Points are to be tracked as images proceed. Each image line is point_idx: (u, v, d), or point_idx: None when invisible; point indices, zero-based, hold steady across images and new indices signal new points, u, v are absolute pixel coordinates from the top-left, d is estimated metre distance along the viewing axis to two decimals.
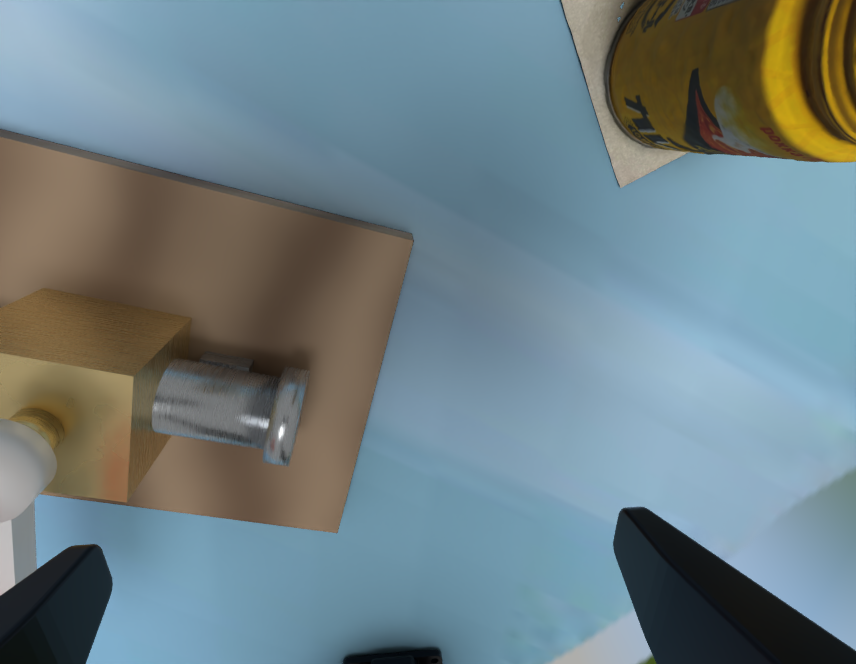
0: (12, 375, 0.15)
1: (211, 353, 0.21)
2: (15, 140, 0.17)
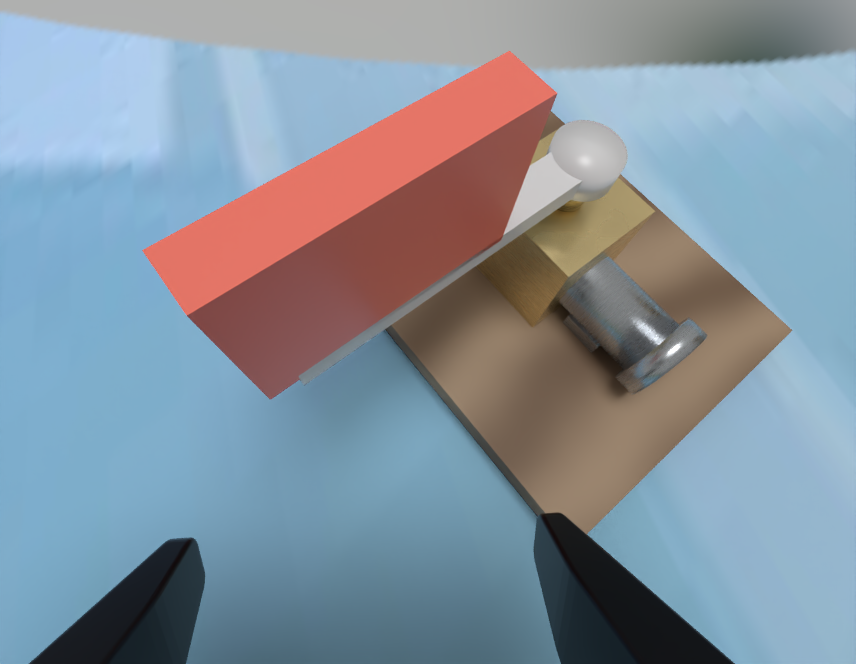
0: None
1: None
2: None
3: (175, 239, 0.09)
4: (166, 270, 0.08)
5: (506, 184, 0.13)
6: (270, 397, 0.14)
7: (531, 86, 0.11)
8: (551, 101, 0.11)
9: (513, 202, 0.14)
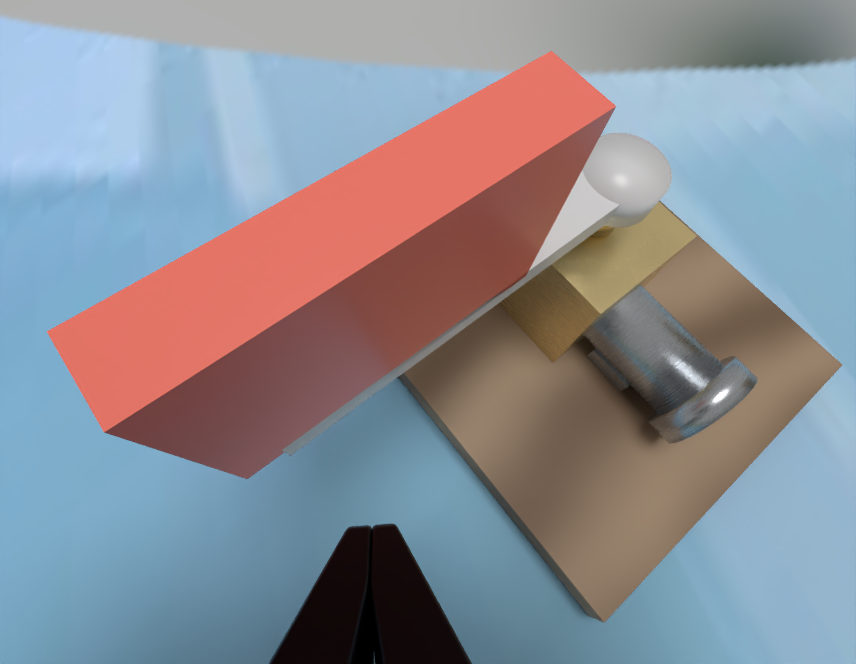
0: None
1: None
2: None
3: (95, 315, 0.06)
4: (79, 362, 0.06)
5: (540, 217, 0.10)
6: (247, 477, 0.11)
7: (582, 96, 0.08)
8: (607, 116, 0.08)
9: (545, 235, 0.12)
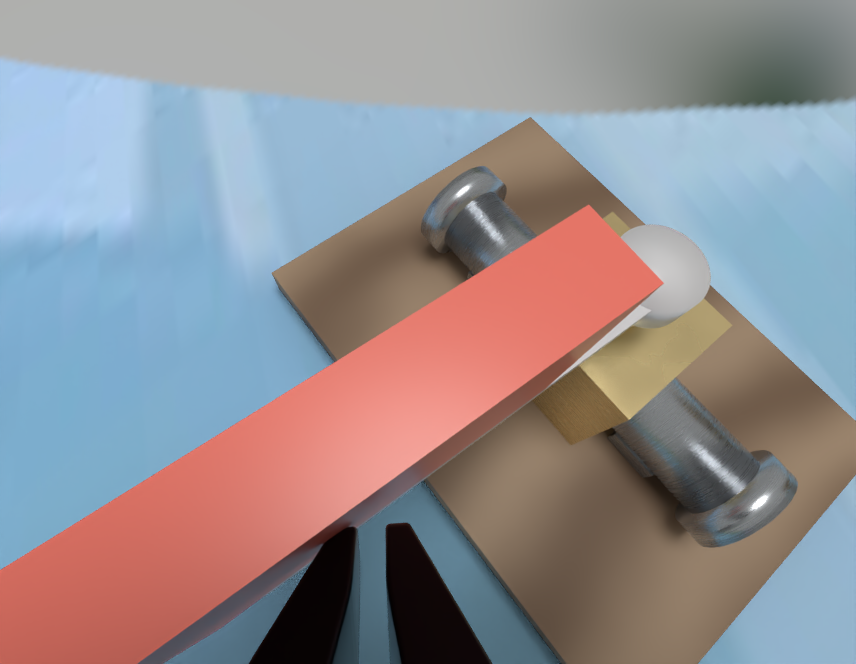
0: None
1: None
2: (628, 210, 0.24)
3: (9, 579, 0.05)
4: None
5: (564, 367, 0.09)
6: None
7: (624, 269, 0.07)
8: (653, 291, 0.07)
9: (567, 368, 0.10)
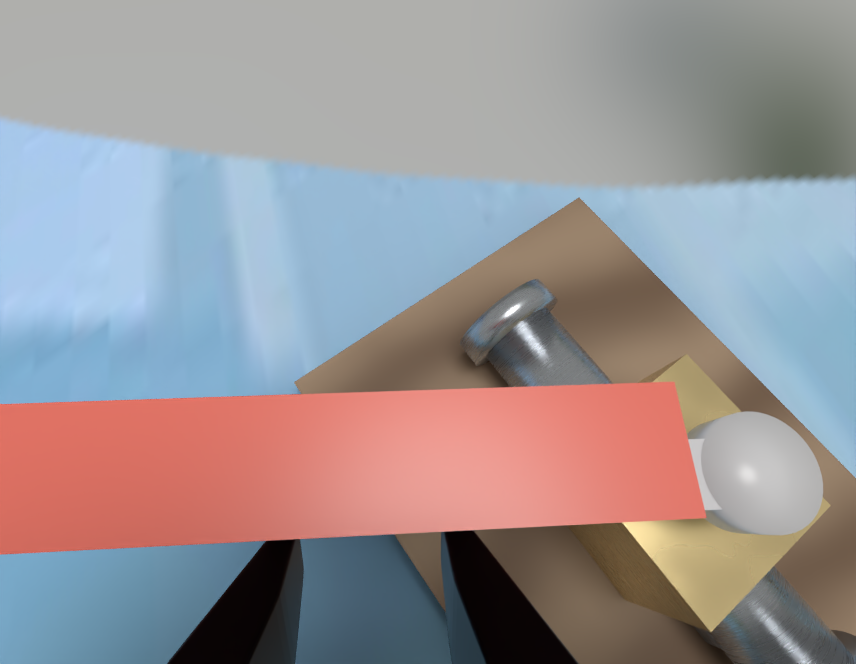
0: None
1: None
2: (688, 310, 0.22)
3: None
4: None
5: None
6: None
7: (670, 473, 0.06)
8: (689, 517, 0.06)
9: None
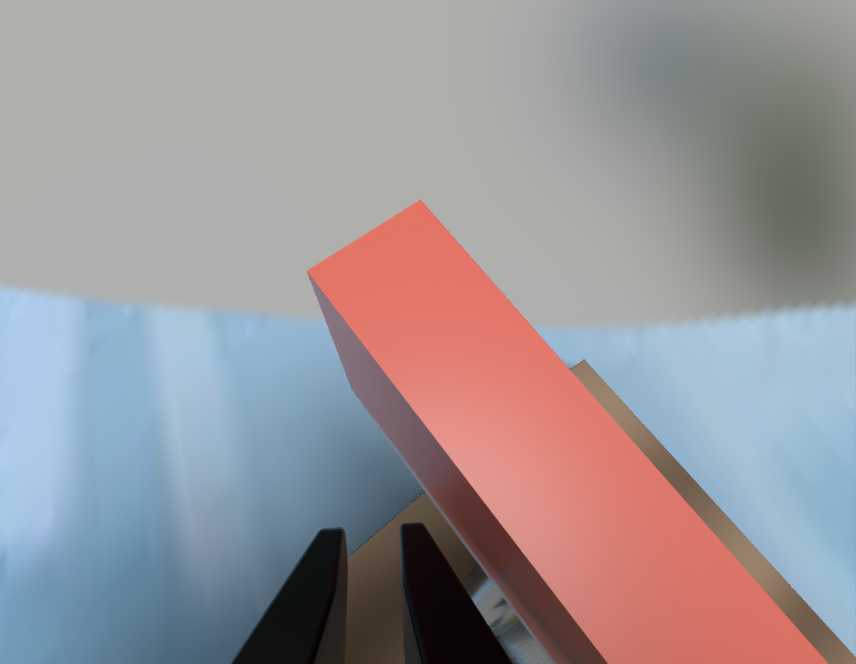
0: None
1: None
2: (718, 509, 0.18)
3: (440, 239, 0.06)
4: (384, 235, 0.06)
5: None
6: (352, 389, 0.11)
7: None
8: None
9: None
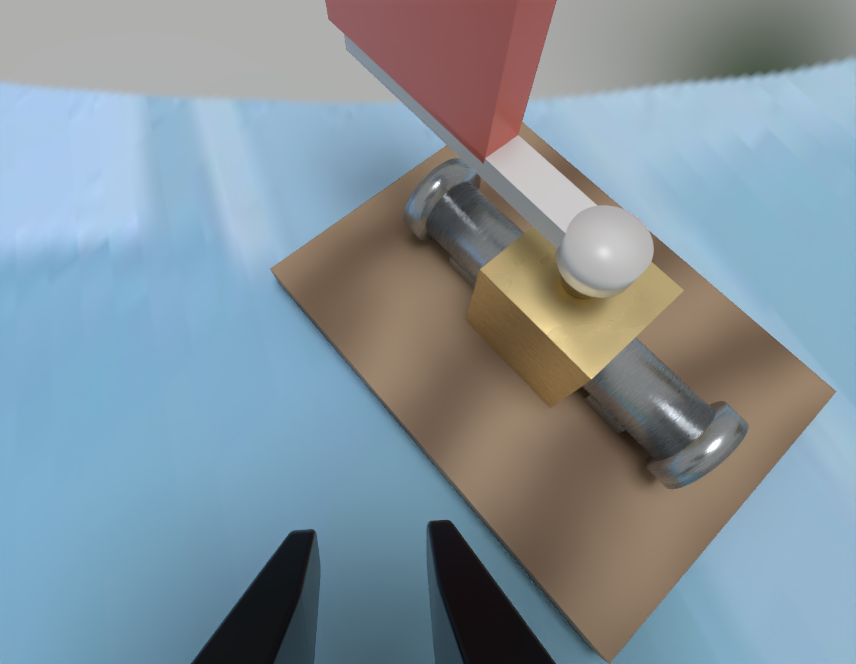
0: None
1: None
2: (598, 189, 0.26)
3: None
4: None
5: (481, 65, 0.14)
6: (328, 16, 0.19)
7: None
8: None
9: (491, 114, 0.15)
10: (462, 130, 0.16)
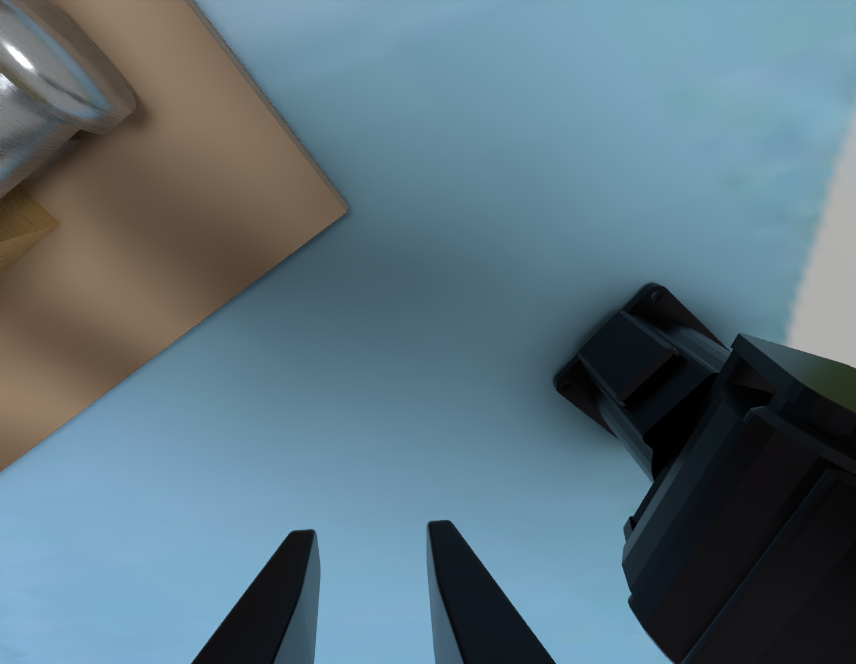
0: None
1: None
2: None
3: None
4: None
5: None
6: None
7: None
8: None
9: None
10: None
